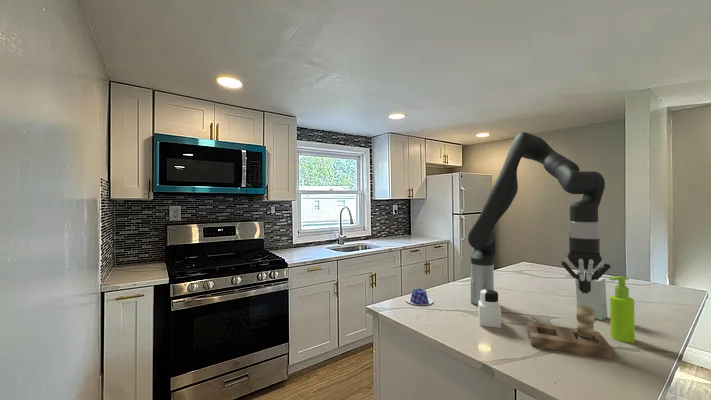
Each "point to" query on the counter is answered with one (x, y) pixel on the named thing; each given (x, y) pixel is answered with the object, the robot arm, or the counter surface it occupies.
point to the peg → (585, 322)
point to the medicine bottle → (489, 309)
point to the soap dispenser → (622, 312)
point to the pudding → (419, 297)
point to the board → (567, 340)
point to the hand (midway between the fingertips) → (584, 292)
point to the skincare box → (594, 298)
